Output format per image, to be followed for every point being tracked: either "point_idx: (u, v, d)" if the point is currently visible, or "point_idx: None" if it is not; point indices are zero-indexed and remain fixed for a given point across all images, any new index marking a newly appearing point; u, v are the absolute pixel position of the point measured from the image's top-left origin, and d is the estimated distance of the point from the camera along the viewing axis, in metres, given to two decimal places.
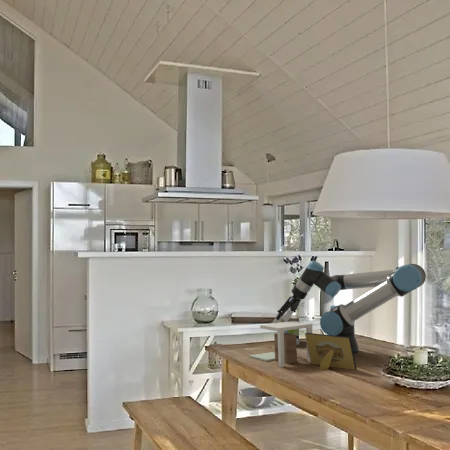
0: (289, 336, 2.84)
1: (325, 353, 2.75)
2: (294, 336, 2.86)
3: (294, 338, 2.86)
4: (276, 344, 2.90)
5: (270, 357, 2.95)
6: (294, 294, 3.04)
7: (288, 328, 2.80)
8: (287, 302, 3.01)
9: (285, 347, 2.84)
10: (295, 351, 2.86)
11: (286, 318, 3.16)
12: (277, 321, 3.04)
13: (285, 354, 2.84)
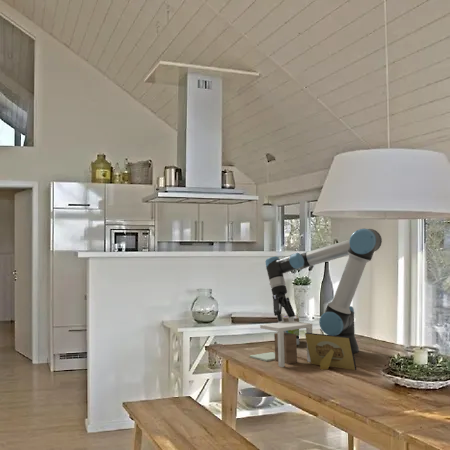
0: (289, 336, 2.84)
1: (325, 353, 2.75)
2: (294, 336, 2.86)
3: (294, 338, 2.86)
4: (276, 344, 2.90)
5: (270, 357, 2.95)
6: (275, 292, 3.05)
7: (288, 328, 2.80)
8: (274, 301, 3.01)
9: (285, 347, 2.84)
10: (295, 351, 2.86)
11: None
12: None
13: (285, 354, 2.84)
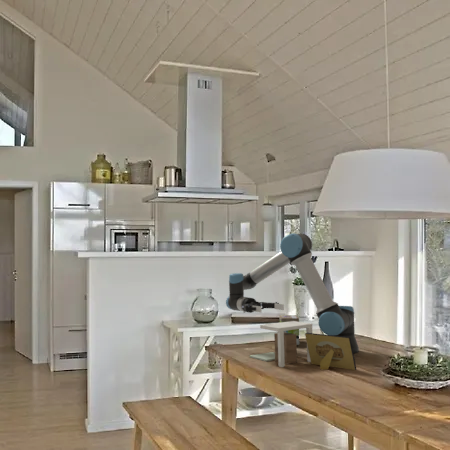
0: (289, 336, 2.84)
1: (325, 353, 2.75)
2: (294, 336, 2.86)
3: (294, 338, 2.86)
4: (276, 344, 2.90)
5: (270, 357, 2.95)
6: None
7: (288, 328, 2.80)
8: (243, 307, 3.05)
9: (285, 347, 2.84)
10: (295, 351, 2.86)
11: (280, 306, 3.02)
12: (257, 307, 2.95)
13: (285, 354, 2.84)
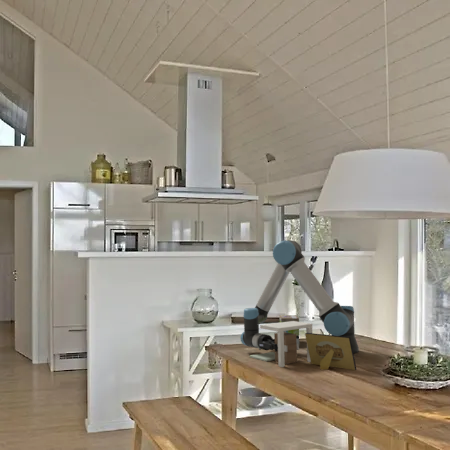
0: (289, 336, 2.84)
1: (325, 353, 2.75)
2: (294, 336, 2.86)
3: (294, 338, 2.86)
4: None
5: (270, 357, 2.95)
6: None
7: (288, 328, 2.80)
8: (263, 346, 2.93)
9: None
10: (295, 351, 2.86)
11: None
12: None
13: (285, 354, 2.84)
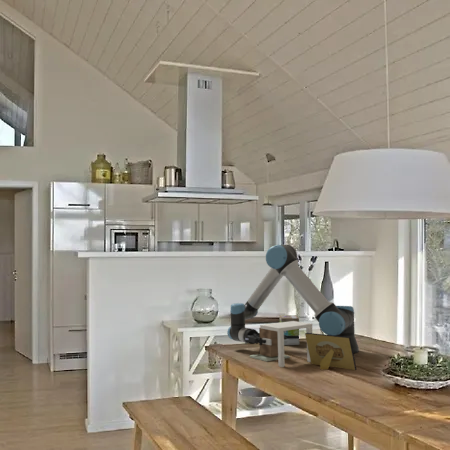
0: None
1: (325, 353, 2.75)
2: None
3: None
4: None
5: (270, 357, 2.95)
6: None
7: (288, 328, 2.80)
8: (249, 340, 3.03)
9: None
10: None
11: None
12: (267, 340, 2.94)
13: (269, 347, 2.94)
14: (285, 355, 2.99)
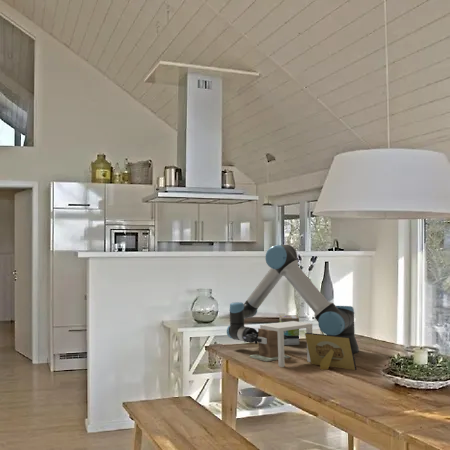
0: (272, 331, 2.95)
1: (325, 353, 2.75)
2: None
3: None
4: None
5: None
6: None
7: (288, 328, 2.80)
8: (246, 338, 3.04)
9: (268, 342, 2.95)
10: None
11: None
12: (262, 339, 2.95)
13: (268, 348, 2.95)
14: (285, 355, 2.99)
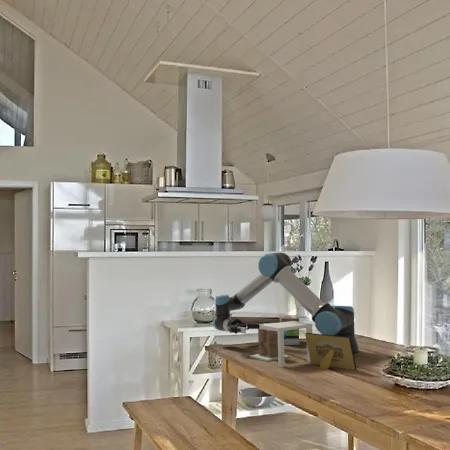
0: (272, 331, 2.95)
1: (325, 353, 2.75)
2: None
3: None
4: (260, 339, 3.01)
5: None
6: None
7: (288, 328, 2.80)
8: (229, 329, 3.15)
9: (268, 342, 2.95)
10: None
11: None
12: (241, 329, 3.06)
13: (268, 348, 2.95)
14: (285, 355, 2.99)
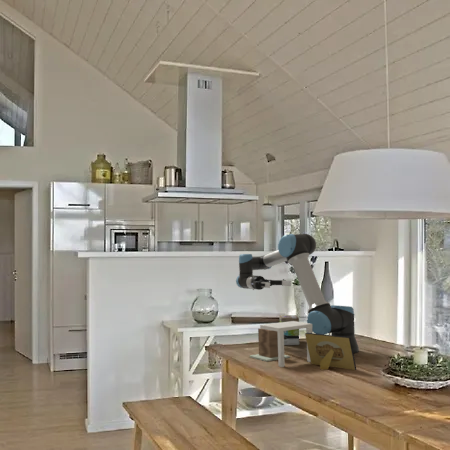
0: (272, 331, 2.95)
1: (325, 353, 2.75)
2: None
3: None
4: (260, 339, 3.01)
5: None
6: None
7: (288, 328, 2.80)
8: (253, 284, 3.27)
9: (268, 342, 2.95)
10: None
11: (287, 282, 3.25)
12: (266, 283, 3.18)
13: (268, 348, 2.95)
14: (285, 355, 2.99)
